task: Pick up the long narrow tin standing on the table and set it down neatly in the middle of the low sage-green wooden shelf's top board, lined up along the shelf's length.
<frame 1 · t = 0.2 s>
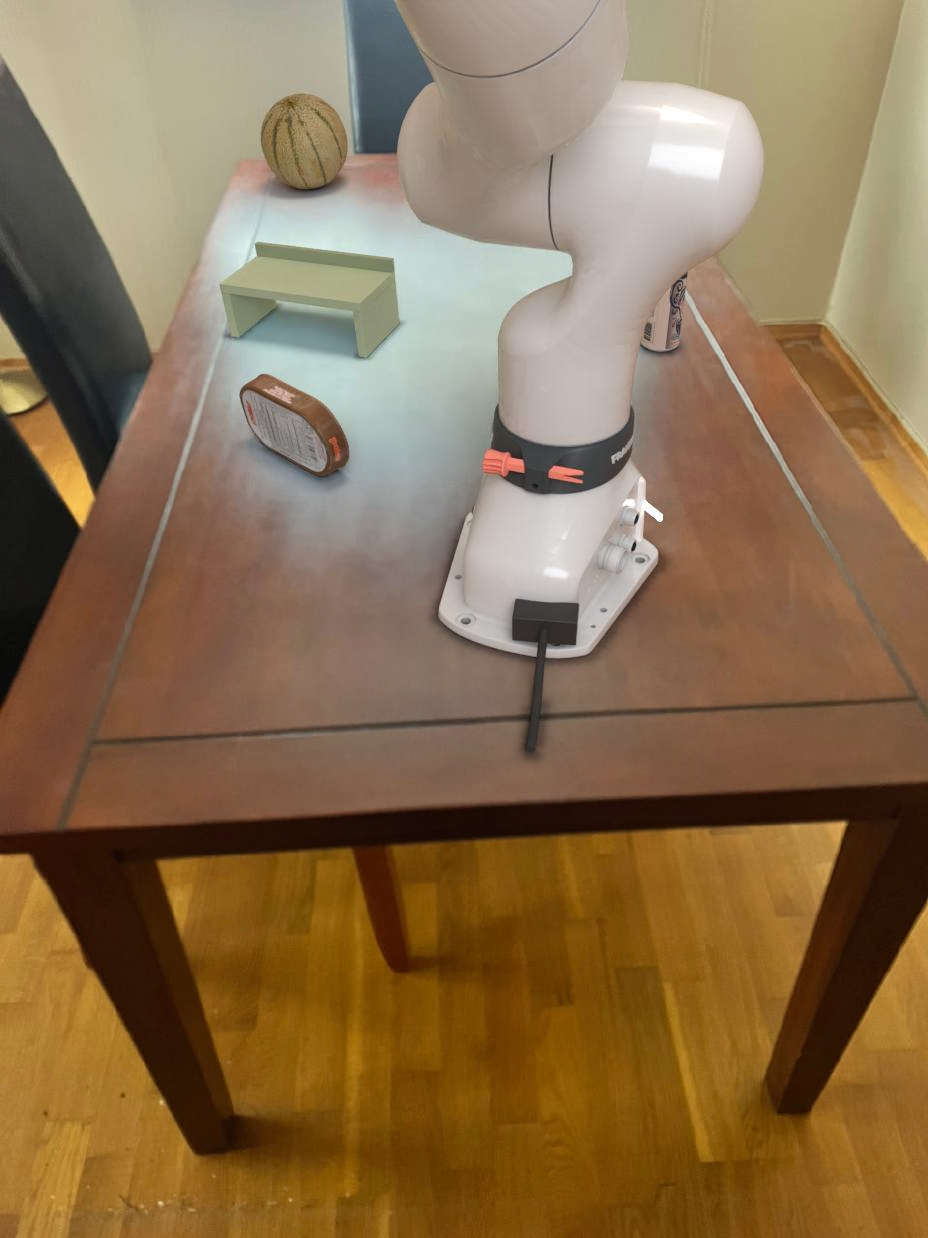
cantaloupe: (310, 187, 165), on the table
shelf: (315, 330, 123), on the table
tin: (298, 460, 100), on the table
beer can: (659, 346, 116), on the table
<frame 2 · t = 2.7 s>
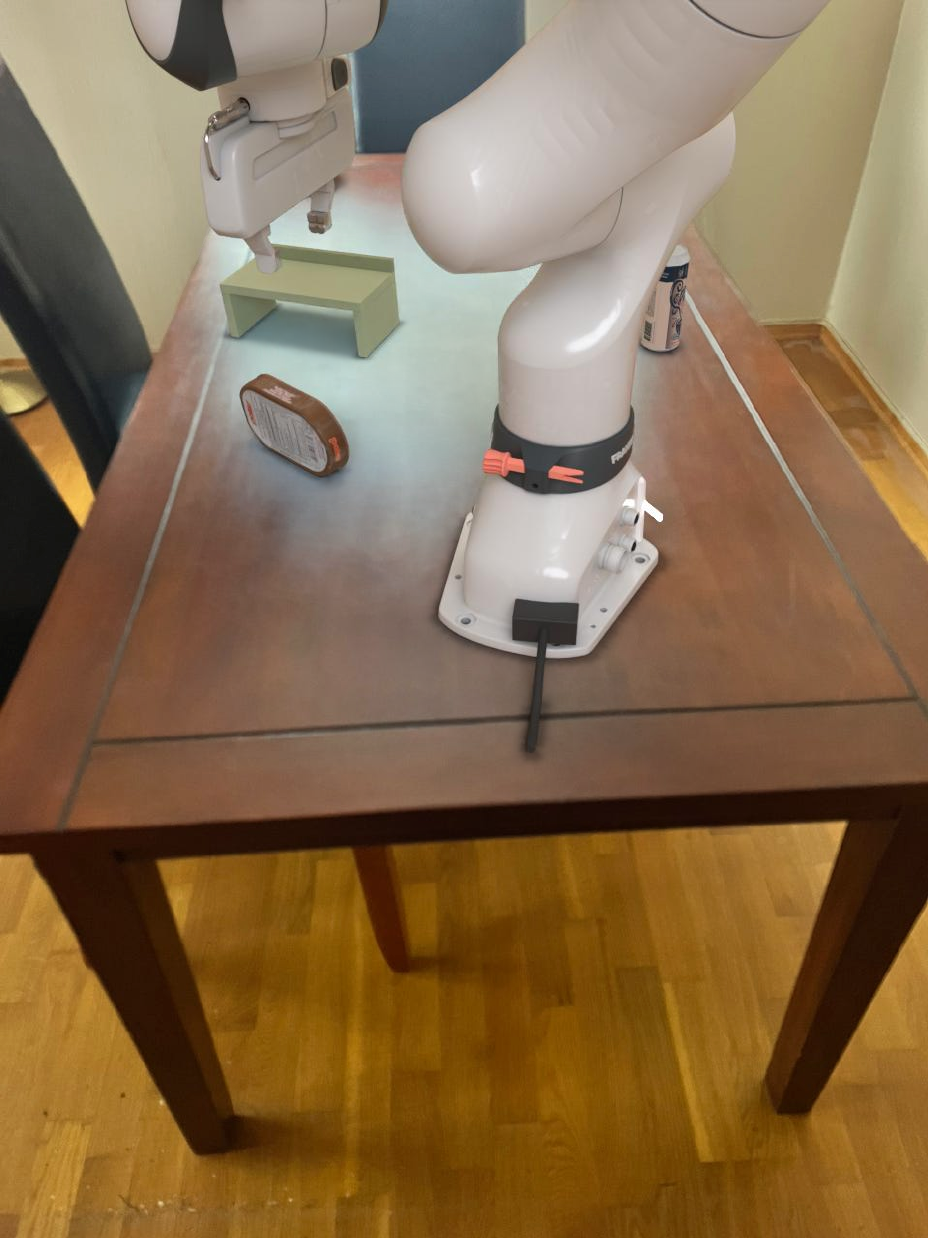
hand: (296, 249, 86), 22 cm above the table, tool pointing down, fingers open, 8 cm apart
nothing on the table moved.
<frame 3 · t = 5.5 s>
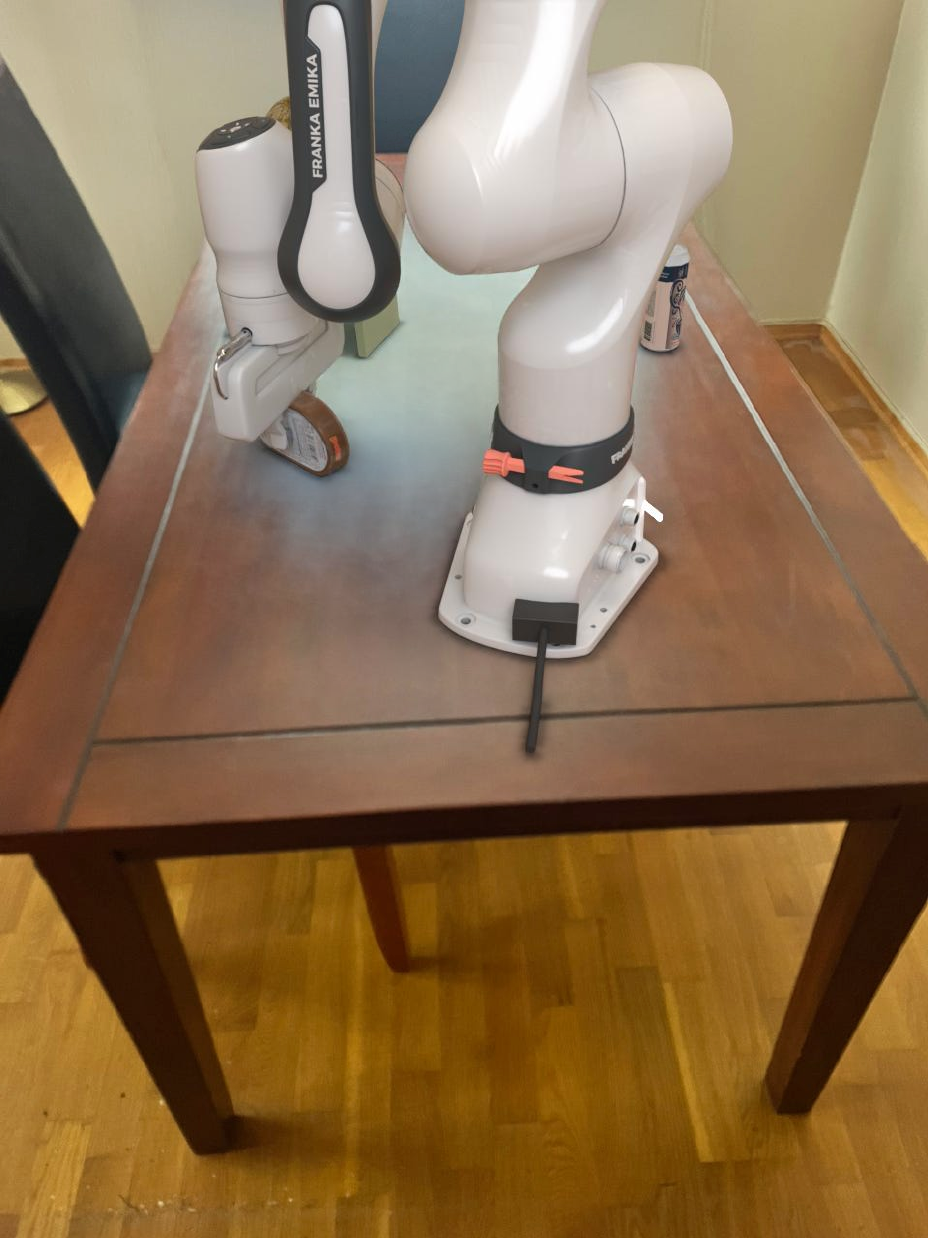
hand: (294, 433, 98), 3 cm above the table, tool pointing down, fingers closed on tin, 3 cm apart
tin: (298, 460, 100), on the table, touching gripper
everything else where it was.
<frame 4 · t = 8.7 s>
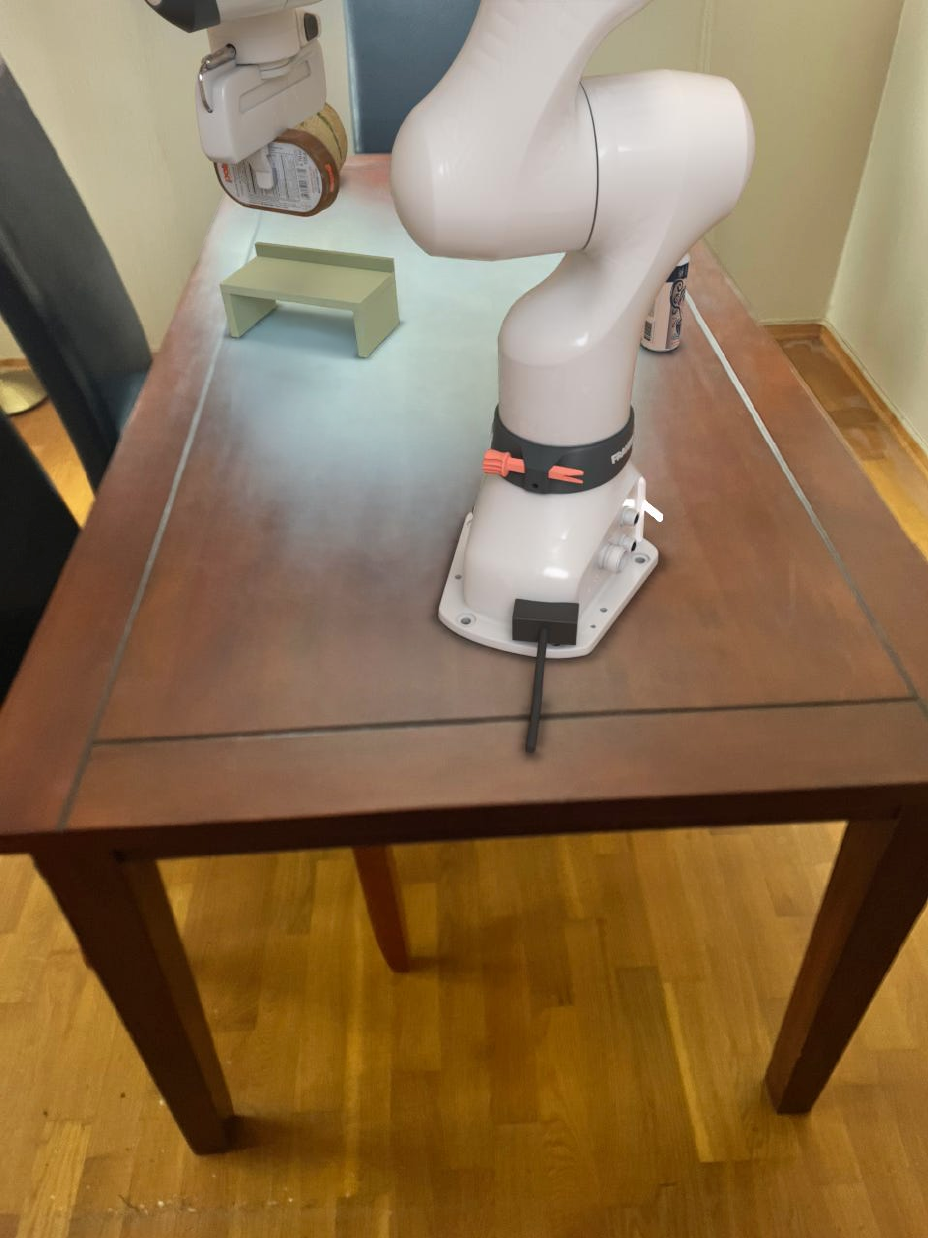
hand: (277, 180, 101), 22 cm above the table, tool pointing down, fingers closed on tin, 2 cm apart
tin: (280, 212, 103), point 18 cm above the table, touching gripper
everything else where it was.
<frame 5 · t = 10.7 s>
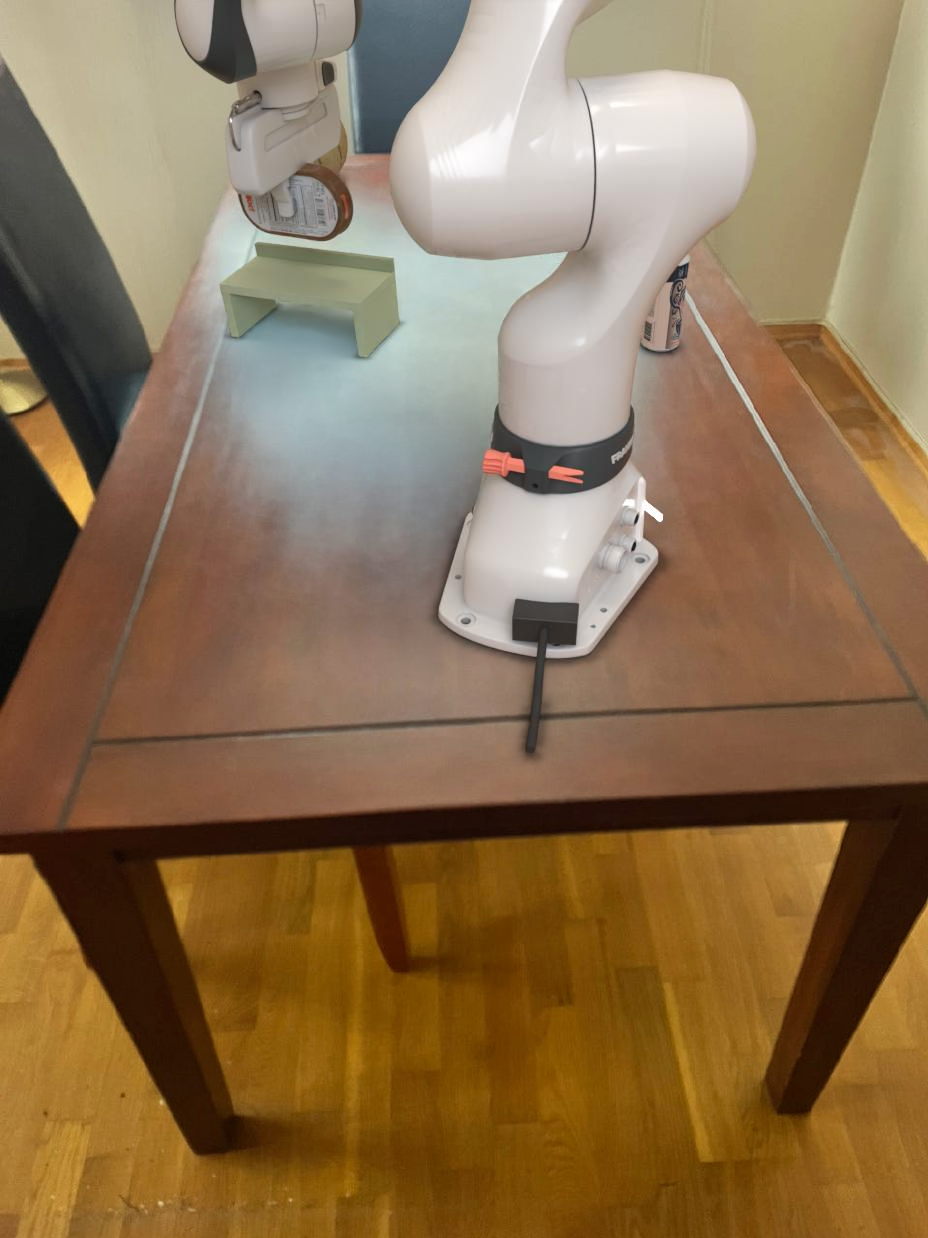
hand: (297, 209, 112), 16 cm above the table, tool pointing down, fingers closed on tin, 2 cm apart
tin: (298, 237, 114), point 12 cm above the table, touching gripper
everything else where it was.
when the fingers open (10 cm above the table, at t = 12.1 s): tin stays where it is, resting on shelf.
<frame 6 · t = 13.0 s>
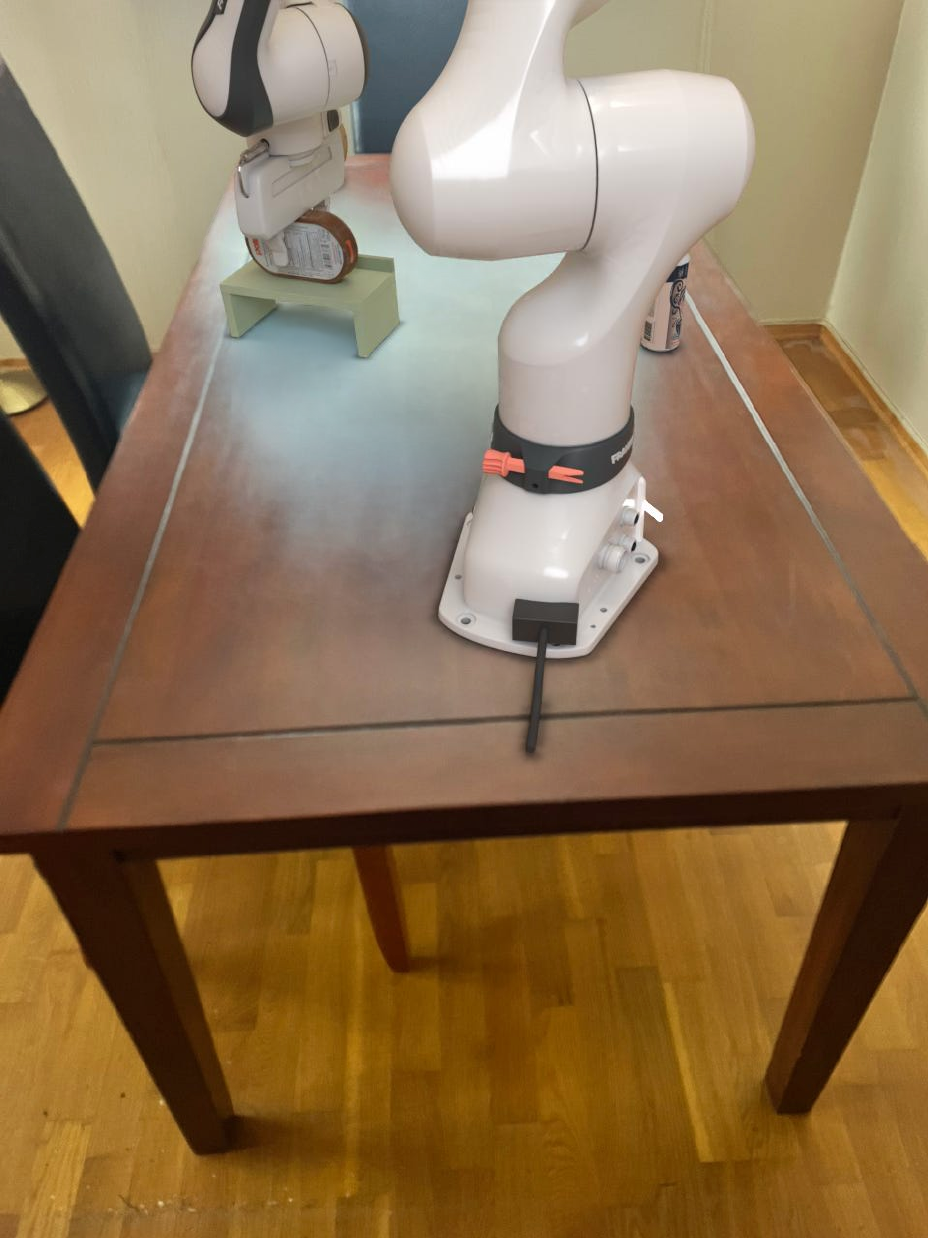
hand: (302, 249, 115), 11 cm above the table, tool pointing down, fingers open, 8 cm apart
tin: (305, 279, 118), point 7 cm above the table, touching shelf
everything else where it was.
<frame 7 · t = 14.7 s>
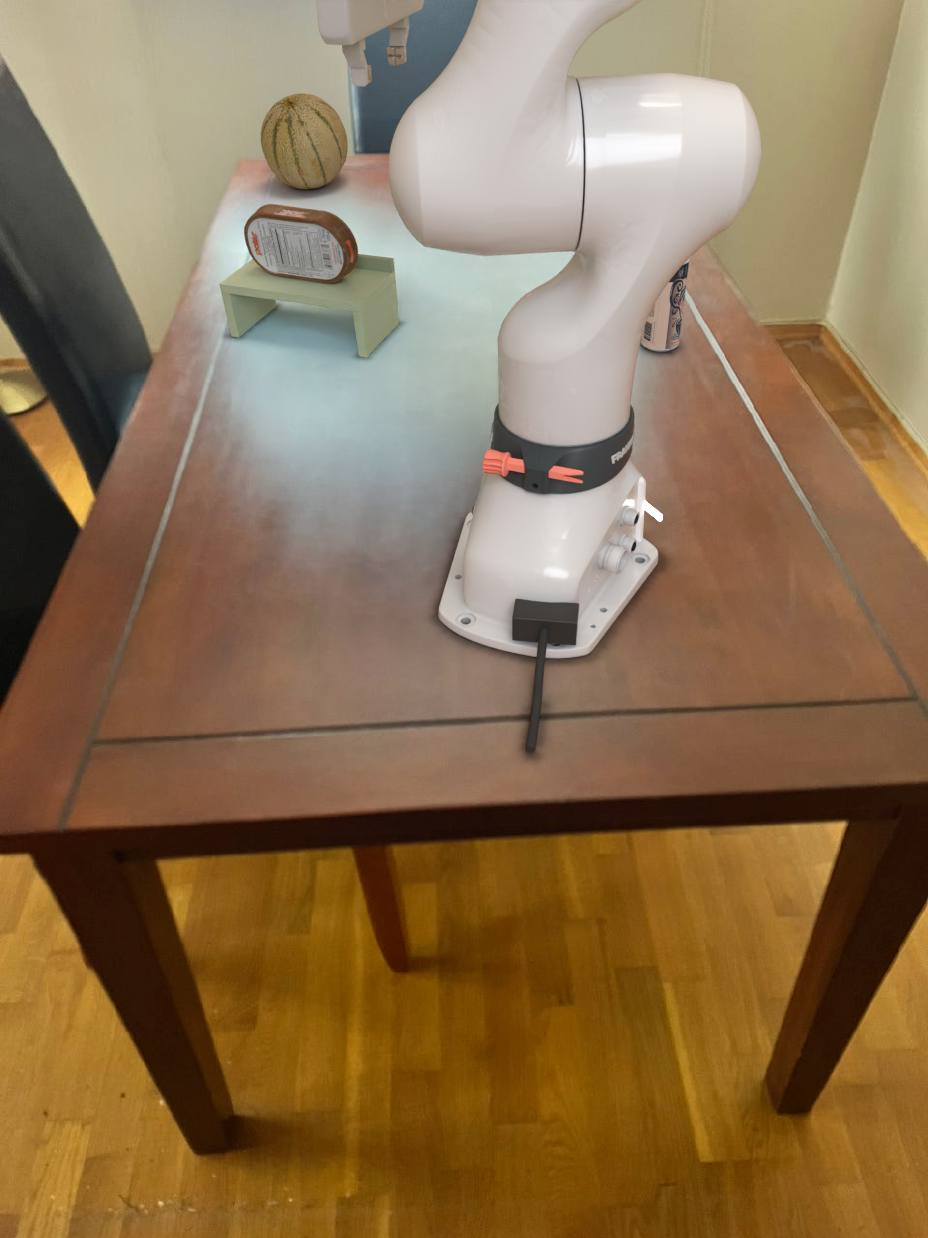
hand: (380, 74, 104), 29 cm above the table, tool pointing down, fingers open, 8 cm apart
nothing on the table moved.
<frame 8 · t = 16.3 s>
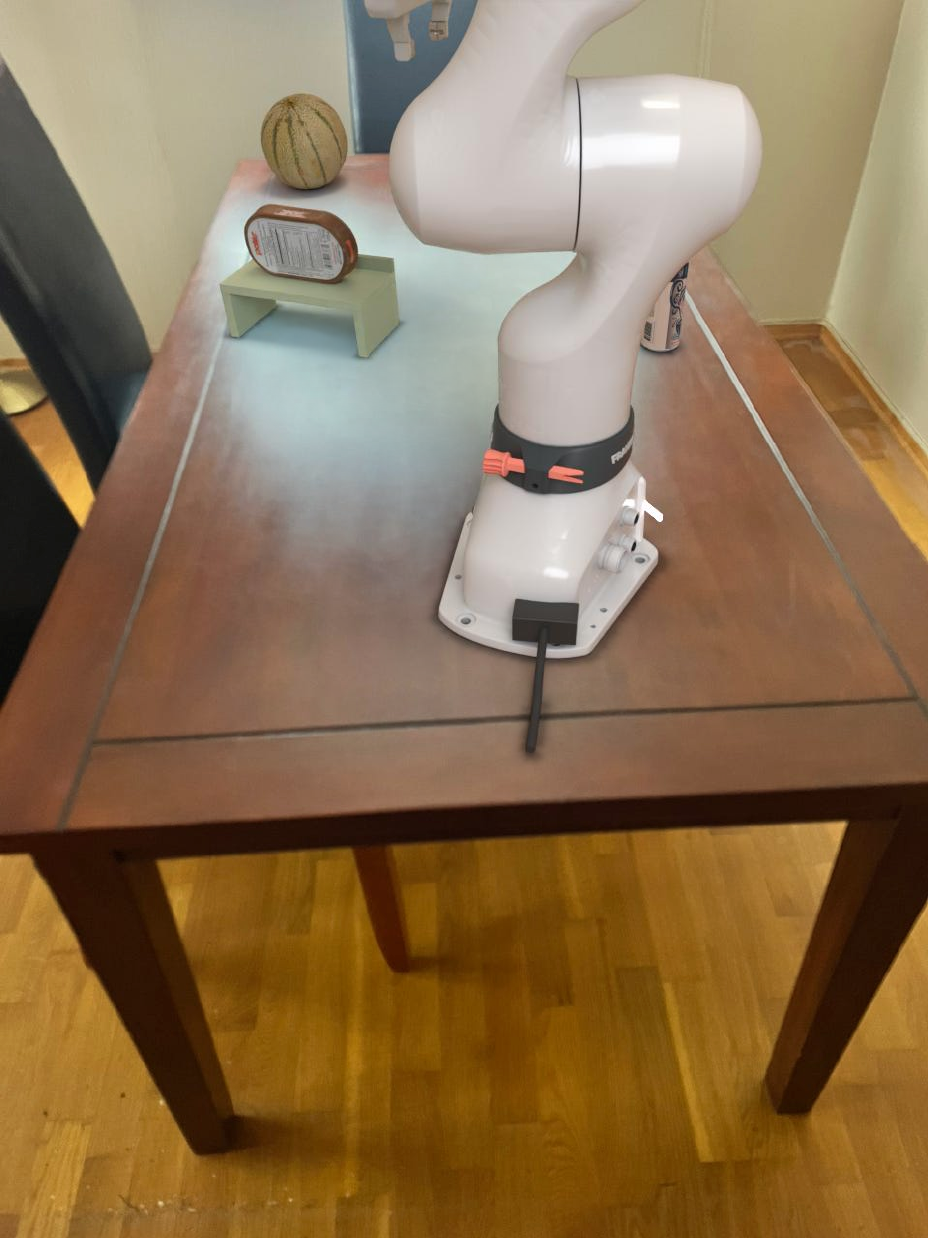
hand: (422, 49, 104), 31 cm above the table, tool pointing down, fingers open, 8 cm apart
nothing on the table moved.
at the end: tin 0.4 cm off-centre on the shelf, point 7.0 cm above the shelf's base; tin tilted 0°; the gripper is holding nothing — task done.
